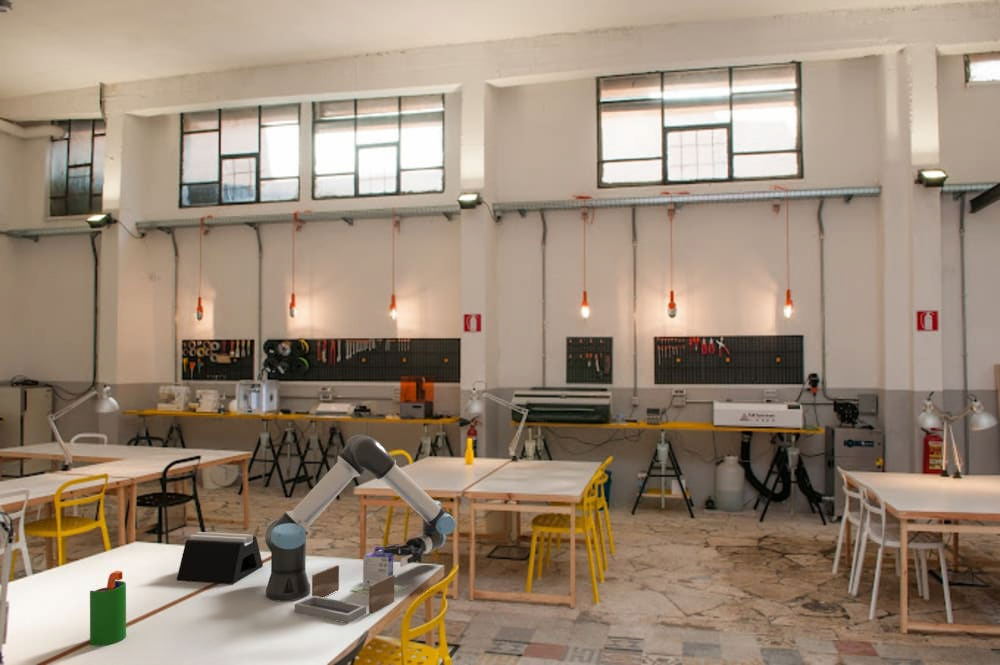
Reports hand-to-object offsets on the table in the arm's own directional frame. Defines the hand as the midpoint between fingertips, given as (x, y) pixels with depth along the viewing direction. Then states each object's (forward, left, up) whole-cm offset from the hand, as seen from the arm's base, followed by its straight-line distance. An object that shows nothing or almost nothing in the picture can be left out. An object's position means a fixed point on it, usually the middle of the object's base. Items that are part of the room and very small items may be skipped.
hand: (385, 560), depth 271 cm
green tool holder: (-45, -78, -10) cm, 90 cm away
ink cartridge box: (-1, -3, -9) cm, 10 cm away
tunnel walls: (-1, -18, -10) cm, 20 cm away
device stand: (-65, -16, -10) cm, 68 cm away
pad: (-1, -4, -10) cm, 10 cm away
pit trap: (-1, -30, -9) cm, 31 cm away
